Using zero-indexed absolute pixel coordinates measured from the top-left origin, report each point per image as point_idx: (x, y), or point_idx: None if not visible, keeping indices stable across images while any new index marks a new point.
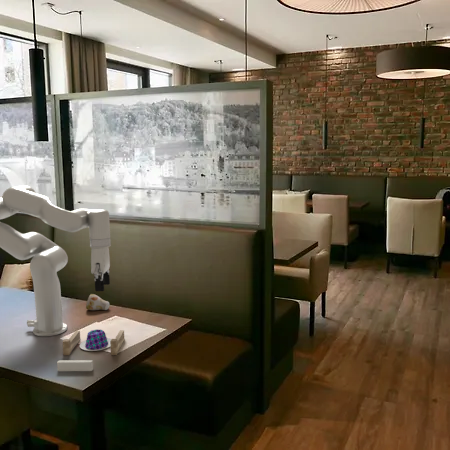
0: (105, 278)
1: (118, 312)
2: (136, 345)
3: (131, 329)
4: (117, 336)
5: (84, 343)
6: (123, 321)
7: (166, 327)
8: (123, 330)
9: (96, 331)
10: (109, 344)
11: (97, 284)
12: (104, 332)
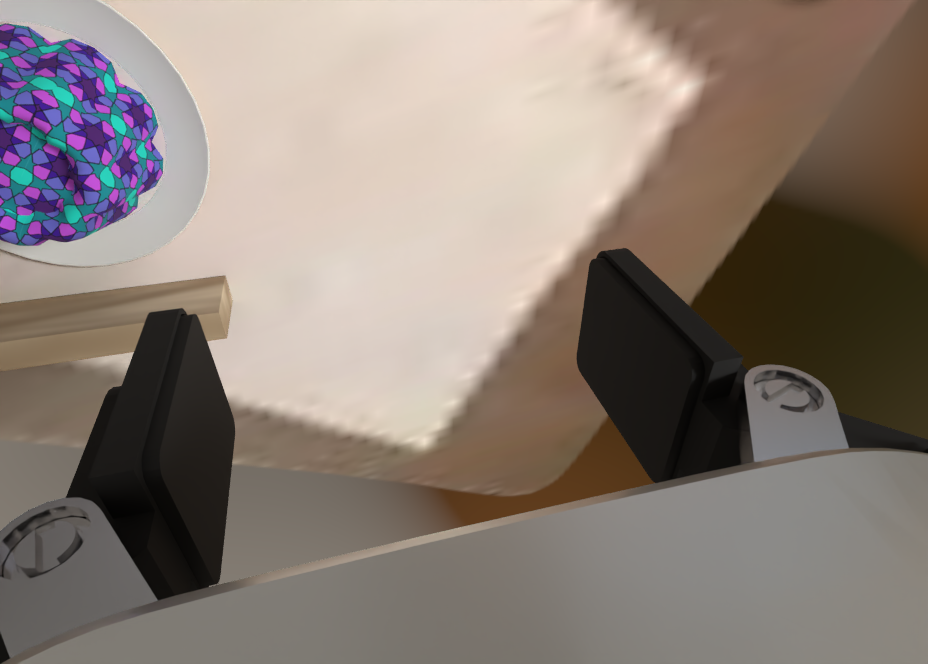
0: (633, 391)
1: (761, 84)
2: None
3: (413, 285)
4: (84, 338)
5: (29, 2)
6: (565, 185)
7: (450, 443)
8: (223, 335)
9: (66, 156)
10: (100, 235)
11: (86, 479)
12: (71, 240)
